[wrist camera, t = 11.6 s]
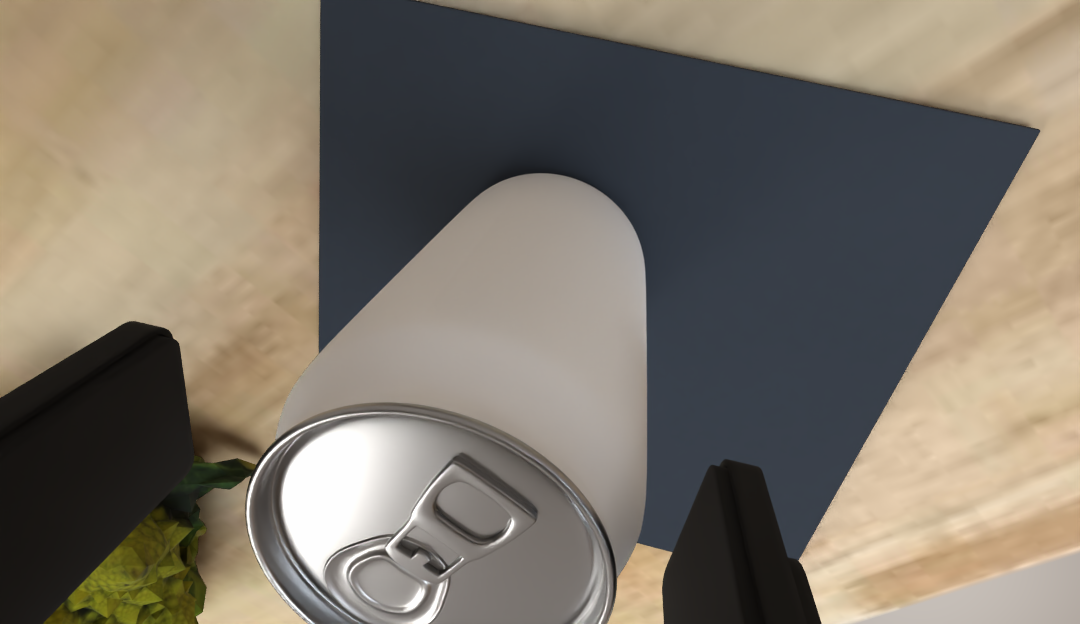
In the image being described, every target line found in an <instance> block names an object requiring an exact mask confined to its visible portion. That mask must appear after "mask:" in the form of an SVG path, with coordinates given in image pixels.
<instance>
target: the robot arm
mask: <svg viewBox="0 0 1080 624" xmlns="http://www.w3.org/2000/svg"><path fill="white" fill-rule="evenodd" d="M193 462H194V448H193V440H192V433H191V426H190V418H189V411H188V404H187V396H186V389H185V381H184V374H183V367H182V359H181V352H180V346H179V343H178V342H177V341H176V340H175V339H173V336H172V334H171V332H170V331H169V330H167V329H165V328H162V327H157V326H153V325H149V324H145V323H140V322H136V321H129V322H127V323H124V324H122V325H121V326H119V327H117V328H116V329H114V330H112V331H111V332H109V333H107V334H106V335H104V336H103V337H101V338H99V339H98V340H96V341H94V342H93V343H91V344H89V345H88V346H86V347H84V348H83V349H81V350H79V351H78V352H76V353H74V354H73V355H71V356H69V357H68V358H66V359H64V360H63V361H61V362H59V363H58V364H56V365H54V366H53V367H51V368H49V369H48V370H46V371H44V372H43V373H41V374H39V375H38V376H36V377H35V378H33V379H31V380H30V381H28V382H26V383H25V384H23V385H21V386H20V387H18V388H16V389H15V390H13V391H11V392H10V393H8V394H6V395H5V396H3V397H1V398H0V624H43V623H44V622H45V621H46V620H47V619H48V618H49V617H50V616H51V615H52V614H53V613H54V612H55V611H56V609H57V608H58V607H59V606H60V605H61V604H62V603H63V602H64V601H65V600H66V599H67V598H68V597H69V596H70V595H71V594H72V593H73V592H74V591H75V590H76V589H77V588H78V587H79V586H80V585H81V584H82V583H83V582H84V581H85V580H86V579H87V578H88V577H89V575H90V574H91V573H92V572H93V571H94V570H95V569H96V568H97V567H98V566H99V565H100V564H101V563H102V562H103V561H104V560H105V559H106V558H107V557H108V556H109V555H110V554H111V553H112V552H113V551H114V550H115V549H116V548H117V547H118V546H119V545H120V544H121V542H122V541H123V540H124V539H125V538H126V537H127V536H128V535H129V534H130V533H131V532H132V531H133V530H134V529H135V528H136V527H137V526H138V525H139V524H140V523H141V522H142V521H143V520H144V519H145V518H146V517H147V516H148V515H149V514H150V513H151V512H152V511H153V510H154V508H155V507H156V506H157V505H158V504H159V503H160V502H161V501H162V500H163V499H164V498H165V497H166V496H167V495H168V494H169V493H170V492H171V491H172V490H173V489H174V488H175V487H176V486H177V485H178V484H179V483H180V482H181V481H182V480H183V479H184V478H185V476H186V475H187V474H188V473H189V471H190V469H191V467H192V465H193ZM662 595H663V613H664V624H821V621H820V617H819V614H818V611H817V608H816V605H815V602H814V598H813V595H812V592H811V589H810V586H809V583H808V579H807V576H806V573H805V571H804V569H803V567H802V565H801V564H800V563H799V561H798V560H797V559H793V558H789V557H787V553H786V550H785V546H784V543H783V540H782V536H781V533H780V529H779V526H778V522H777V519H776V516H775V512H774V509H773V505H772V502H771V499H770V495H769V492H768V488H767V485H766V481H765V478H764V475H763V472H762V470H761V468H760V467H758V466H754V465H750V464H746V463H742V462H737V461H733V460H729V459H724V460H723V461H722V462H721V464H720V466H716V465H710V466H709V468H708V470H707V472H706V474H705V477H704V479H703V481H702V484H701V486H700V488H699V491H698V493H697V496H696V498H695V500H694V503H693V505H692V507H691V510H690V512H689V515H688V517H687V519H686V522H685V524H684V526H683V529H682V531H681V534H680V536H679V538H678V541H677V543H676V545H675V548H674V550H673V553H672V555H671V557H670V560H669V562H668V564H667V567H666V570H665V573H664V578H663V586H662Z"/></svg>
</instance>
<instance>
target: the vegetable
mask: <svg viewBox="0 0 1080 624" xmlns="http://www.w3.org/2000/svg"><path fill="white" fill-rule="evenodd" d="M255 467H256V465H255V464H252V463H249V462H246V461H244V460H241V459H238V458H237V459H232V460H227V461H222V462H217V463H207V462H205V461H204V460H203V459H202V458H201V457H198V456H195V455H194V462H193V465H192V467H191V469H190V471H189V473H188V474H187V475H186V476H185V478H184V479H183V480H182V481H181V482H180V483H179V484H178V485H177V486H176V487H175V488H174V489H173V490H172V491H171V492H170V493H169V494H168V495H167V496H166V497H165V498H164V499H163V500H162V501H161V502H160V503H159V504H158V505H157V506H156V507H155V508H154V510H153V511H152V512H151V513H150V514H149V515H148V516H147V517H146V518H145V519H144V520H143V521H142V522H141V523H140V524H139V525H138V526H137V527H136V528H135V529H134V530H133V531H132V532H131V533H130V534H129V535H128V536H127V537H126V538H125V539H124V540H123V541H122V542H121V544H120V545H119V546H118V547H117V548H116V549H115V550H114V551H113V552H112V553H111V554H110V555H109V556H108V557H107V558H106V559H105V560H104V561H103V562H102V563H101V564H100V565H99V566H98V567H97V568H96V569H95V570H94V571H93V572H92V573H91V574H90V575H89V577H88V578H87V579H86V580H85V581H84V582H83V583H82V584H81V585H80V586H79V587H78V588H77V589H76V590H75V591H74V592H73V593H72V594H71V595H70V596H69V597H68V598H67V599H66V600H65V601H64V602H63V603H62V604H61V605H60V606H59V607H58V608H57V609H56V611H55V612H54V613H53V614H52V615H51V616H50V617H49V618H48V619H47V620H46V621H45V622H44V623H43V624H198V621H197V619H196V616H197V615H199V614H200V613H202V612H203V608H204V601H205V594H206V588H207V587H206V585H205V583H204V582H203V580H202V578H201V576H200V575H199V573H198V569H197V565H196V562H195V557H196V555H197V553H198V537H199V536H201V535H203V534H205V533H206V529H207V528H206V527H205V526H204V525H205V524H204V523H203V522H202V521H201V519H200V518H199V512H200V508H199V507H198V505H197V504H196V500H197V499H199V498H200V497H202V496H203V495H205V494H206V493H208V492H209V491H211V490H212V489H213V488H221V489H231V488H233V487H234V486H236V485H237V484H239V483H240V482H242V481H243V480H244V479H245V478H246V477H249V476H252V473H253V471H254V469H255Z"/></svg>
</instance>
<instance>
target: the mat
mask: <svg viewBox="0 0 1080 624" xmlns="http://www.w3.org/2000/svg"><path fill="white" fill-rule="evenodd" d="M1039 133H1040V130H1039V129H1035V128H1031V127H1026V126H1021V125H1016V124H1011V123H1007V122H1002V121H997V120H992V119H987V118H982V117H977V116H973V115H968V114H963V113H958V112H953V111H948V110H944V109H939V108H934V107H929V106H924V105H919V104H914V103H910V102H905V101H900V100H895V99H890V98H885V97H880V96H876V95H871V94H866V93H861V92H856V91H851V90H847V89H842V88H837V87H832V86H827V85H822V84H817V83H813V82H808V81H803V80H798V79H793V78H788V77H783V76H779V75H774V74H769V73H764V72H759V71H754V70H750V69H745V68H740V67H735V66H730V65H725V64H720V63H716V62H711V61H706V60H701V59H696V58H691V57H686V56H682V55H677V54H672V53H667V52H662V51H657V50H652V49H648V48H643V47H638V46H633V45H628V44H623V43H619V42H614V41H609V40H604V39H599V38H594V37H589V36H585V35H580V34H575V33H570V32H565V31H560V30H555V29H551V28H546V27H541V26H536V25H531V24H526V23H522V22H517V21H512V20H507V19H502V18H497V17H492V16H488V15H483V14H478V13H473V12H468V11H463V10H458V9H454V8H449V7H444V6H439V5H434V4H429V3H425V2H420V1H415V0H321V13H320V219H319V353H320V352H321V351H322V350H323V349H324V348H325V347H326V346H327V345H328V343H329V342H330V341H331V340H332V339H333V338H334V337H335V336H336V335H337V334H338V333H339V332H340V331H341V330H342V329H343V328H344V327H345V326H346V325H347V324H348V323H349V322H350V321H351V320H352V319H353V318H354V317H355V316H356V315H357V314H358V313H359V312H360V311H361V310H362V309H363V308H364V307H365V306H366V305H367V304H368V303H369V302H370V301H371V300H372V299H373V298H374V297H375V296H376V295H377V294H378V293H379V292H380V291H381V290H382V289H383V288H384V287H385V286H386V285H387V284H388V283H389V282H390V281H391V280H392V279H393V278H394V277H395V276H396V275H397V274H398V273H399V272H400V271H401V270H402V269H403V268H404V267H405V266H406V265H407V264H408V263H409V262H410V261H411V260H412V259H413V258H414V257H415V256H416V255H417V254H418V253H419V252H420V251H421V250H422V249H423V248H424V247H425V246H426V245H427V244H428V243H429V242H430V241H431V240H432V239H433V238H434V237H435V236H436V235H437V234H438V233H439V232H440V231H441V230H442V229H443V228H444V227H445V226H446V225H447V224H448V223H449V222H450V221H451V220H452V219H454V218H455V217H456V216H457V215H458V214H459V213H460V212H461V211H462V210H463V209H464V208H465V207H466V206H467V205H468V204H469V203H470V202H471V201H472V200H474V199H475V198H476V197H477V196H478V195H480V194H481V193H482V192H484V191H485V190H487V189H488V188H490V187H491V186H493V185H495V184H497V183H499V182H501V181H503V180H506V179H509V178H512V177H516V176H520V175H525V174H534V173H548V174H557V175H562V176H567V177H570V178H574V179H577V180H579V181H582V182H584V183H586V184H588V185H590V186H592V187H594V188H596V189H597V190H599V191H600V192H602V193H603V194H605V195H606V196H607V197H608V198H610V199H611V200H612V201H613V202H614V203H615V204H616V205H617V206H618V207H619V208H620V209H621V210H622V212H623V213H624V214H625V215H626V217H627V218H628V220H629V221H630V223H631V224H632V226H633V228H634V230H635V232H636V234H637V236H638V239H639V241H640V244H641V248H642V252H643V257H644V263H645V278H646V335H647V481H646V502H645V510H644V516H643V522H642V528H641V531H640V535H639V538H638V541H637V543H640V544H643V545H647V546H651V547H655V548H659V549H663V550H666V551H670V552H673V550H674V548H675V545H676V543H677V541H678V538H679V536H680V534H681V531H682V529H683V526H684V524H685V522H686V519H687V517H688V515H689V512H690V510H691V507H692V505H693V503H694V500H695V498H696V496H697V493H698V491H699V488H700V486H701V484H702V481H703V479H704V477H705V474H706V472H707V470H708V468H709V466H710V465H716V466H720V464H721V462H722V461H723V460H724V459H729V460H733V461H737V462H742V463H746V464H750V465H754V466H758V467H760V468H761V470H762V472H763V475H764V478H765V481H766V485H767V488H768V492H769V495H770V499H771V502H772V505H773V509H774V512H775V516H776V519H777V522H778V526H779V529H780V533H781V536H782V540H783V543H784V546H785V550H786V553H787V557H789V558H793V559H797V560H799V558H800V557H801V555H802V553H803V551H804V549H805V548H806V546H807V544H808V542H809V541H810V539H811V537H812V535H813V533H814V532H815V530H816V528H817V526H818V525H819V523H820V521H821V519H822V518H823V516H824V514H825V512H826V510H827V509H828V507H829V505H830V503H831V502H832V500H833V498H834V496H835V494H836V493H837V491H838V489H839V487H840V486H841V484H842V482H843V480H844V479H845V477H846V475H847V473H848V471H849V470H850V468H851V466H852V464H853V463H854V461H855V459H856V457H857V455H858V454H859V452H860V450H861V448H862V447H863V445H864V443H865V441H866V439H867V438H868V436H869V434H870V432H871V431H872V429H873V427H874V425H875V424H876V422H877V420H878V418H879V416H880V415H881V413H882V411H883V409H884V408H885V406H886V404H887V402H888V400H889V399H890V397H891V395H892V393H893V392H894V390H895V388H896V386H897V385H898V383H899V381H900V379H901V377H902V376H903V374H904V372H905V370H906V369H907V367H908V365H909V363H910V361H911V360H912V358H913V356H914V354H915V353H916V351H917V349H918V347H919V345H920V344H921V342H922V340H923V338H924V337H925V335H926V333H927V331H928V330H929V328H930V326H931V324H932V322H933V321H934V319H935V317H936V315H937V314H938V312H939V310H940V308H941V306H942V305H943V303H944V301H945V299H946V298H947V296H948V294H949V292H950V291H951V289H952V287H953V285H954V283H955V282H956V280H957V278H958V276H959V275H960V273H961V271H962V269H963V267H964V266H965V264H966V262H967V260H968V259H969V257H970V255H971V253H972V252H973V250H974V248H975V246H976V244H977V243H978V241H979V239H980V237H981V236H982V234H983V232H984V230H985V228H986V227H987V225H988V223H989V221H990V220H991V218H992V216H993V214H994V212H995V211H996V209H997V207H998V205H999V204H1000V202H1001V200H1002V198H1003V197H1004V195H1005V193H1006V191H1007V189H1008V188H1009V186H1010V184H1011V182H1012V181H1013V179H1014V177H1015V175H1016V173H1017V172H1018V170H1019V168H1020V166H1021V165H1022V163H1023V161H1024V159H1025V158H1026V156H1027V154H1028V152H1029V150H1030V149H1031V147H1032V145H1033V143H1034V142H1035V140H1036V138H1037V136H1038V134H1039Z"/></svg>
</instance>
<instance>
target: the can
mask: <svg viewBox="0 0 1080 624" xmlns="http://www.w3.org/2000/svg"><path fill="white" fill-rule="evenodd" d="M646 481H647V335H646V278H645V263H644V257H643V252H642V248H641V244H640V241H639V239H638V236H637V234H636V232H635V230H634V228H633V226H632V224H631V223H630V221H629V220H628V218H627V217H626V215H625V214H624V213H623V212H622V210H621V209H620V208H619V207H618V206H617V205H616V204H615V203H614V202H613V201H612V200H611V199H610V198H608V197H607V196H606V195H605V194H603V193H602V192H600V191H599V190H597V189H596V188H594V187H592V186H590V185H588V184H586V183H584V182H582V181H579V180H577V179H574V178H570V177H567V176H562V175H557V174H548V173H534V174H525V175H520V176H516V177H512V178H509V179H506V180H503V181H501V182H499V183H497V184H495V185H493V186H491V187H490V188H488V189H487V190H485V191H484V192H482V193H481V194H480V195H478V196H477V197H476V198H475V199H474V200H472V201H471V202H470V203H469V204H468V205H467V206H466V207H465V208H464V209H463V210H462V211H461V212H460V213H459V214H458V215H457V216H456V217H455V218H454V219H452V220H451V221H450V222H449V223H448V224H447V225H446V226H445V227H444V228H443V229H442V230H441V231H440V232H439V233H438V234H437V235H436V236H435V237H434V238H433V239H432V240H431V241H430V242H429V243H428V244H427V245H426V246H425V247H424V248H423V249H422V250H421V251H420V252H419V253H418V254H417V255H416V256H415V257H414V258H413V259H412V260H411V261H410V262H409V263H408V264H407V265H406V266H405V267H404V268H403V269H402V270H401V271H400V272H399V273H398V274H397V275H396V276H395V277H394V278H393V279H392V280H391V281H390V282H389V283H388V284H387V285H386V286H385V287H384V288H383V289H382V290H381V291H380V292H379V293H378V294H377V295H376V296H375V297H374V298H373V299H372V300H371V301H370V302H369V303H368V304H367V305H366V306H365V307H364V308H363V309H362V310H361V311H360V312H359V313H358V314H357V315H356V316H355V317H354V318H353V319H352V320H351V321H350V322H349V323H348V324H347V325H346V326H345V327H344V328H343V329H342V330H341V331H340V332H339V333H338V334H337V335H336V336H335V337H334V338H333V339H332V340H331V341H330V342H329V343H328V345H327V346H326V347H325V348H324V349H323V350H322V351H321V352H320V353H319V354H318V355H317V357H316V358H315V359H314V360H313V361H312V362H311V363H310V364H309V366H308V367H307V368H306V369H305V371H304V372H303V373H302V375H301V376H300V378H299V379H298V380H297V382H296V383H295V385H294V386H293V388H292V390H291V391H290V393H289V395H288V397H287V400H286V402H285V404H284V407H283V410H282V413H281V416H280V420H279V423H278V428H277V432H276V438H275V441H274V442H273V443H272V444H271V445H270V447H269V448H268V449H267V450H266V451H265V453H264V454H263V455H262V457H261V458H260V460H259V461H258V463H257V465H256V467H255V469H254V471H253V473H252V476H251V478H250V481H249V485H248V489H247V494H246V502H245V517H246V526H247V531H248V536H249V539H250V543H251V546H252V549H253V551H254V554H255V556H256V559H257V561H258V563H259V565H260V567H261V569H262V570H263V572H264V574H265V575H266V577H267V579H268V580H269V582H270V583H271V584H272V586H273V587H274V589H275V590H276V591H277V593H278V594H279V595H280V596H281V597H282V599H283V600H284V601H285V602H286V603H287V604H288V605H289V606H290V607H291V608H292V609H293V610H294V611H295V612H296V613H297V614H298V615H299V616H300V617H301V618H302V619H303V620H304V621H305V622H307V623H308V624H607V622H608V620H609V618H610V616H611V613H612V610H613V607H614V603H615V597H616V590H617V577H618V576H619V574H620V573H621V571H622V570H623V568H624V567H625V565H626V563H627V562H628V560H629V558H630V556H631V554H632V552H633V550H634V548H635V546H636V543H637V541H638V538H639V535H640V531H641V528H642V522H643V516H644V510H645V502H646Z"/></svg>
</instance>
